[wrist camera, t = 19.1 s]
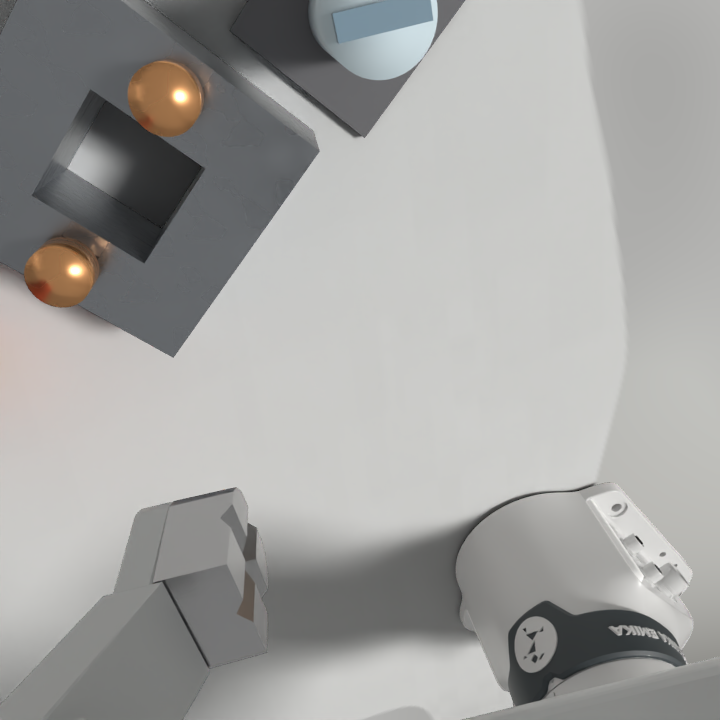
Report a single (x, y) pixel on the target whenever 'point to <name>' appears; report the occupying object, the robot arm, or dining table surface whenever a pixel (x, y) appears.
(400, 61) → the cartridge
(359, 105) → the pad
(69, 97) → the housing
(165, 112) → the copper dome knob
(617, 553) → the robot arm
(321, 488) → the dining table surface
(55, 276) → the copper knob
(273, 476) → the dining table surface
